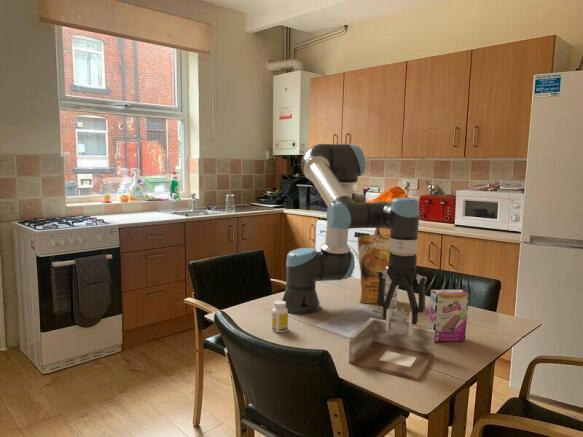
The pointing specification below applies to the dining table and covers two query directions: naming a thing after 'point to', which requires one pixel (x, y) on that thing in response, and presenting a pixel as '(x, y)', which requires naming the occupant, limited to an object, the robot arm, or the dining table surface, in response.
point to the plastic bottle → (394, 298)
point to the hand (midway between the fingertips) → (399, 331)
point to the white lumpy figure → (400, 323)
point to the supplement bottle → (279, 317)
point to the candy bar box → (448, 315)
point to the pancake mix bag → (372, 264)
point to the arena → (392, 349)
